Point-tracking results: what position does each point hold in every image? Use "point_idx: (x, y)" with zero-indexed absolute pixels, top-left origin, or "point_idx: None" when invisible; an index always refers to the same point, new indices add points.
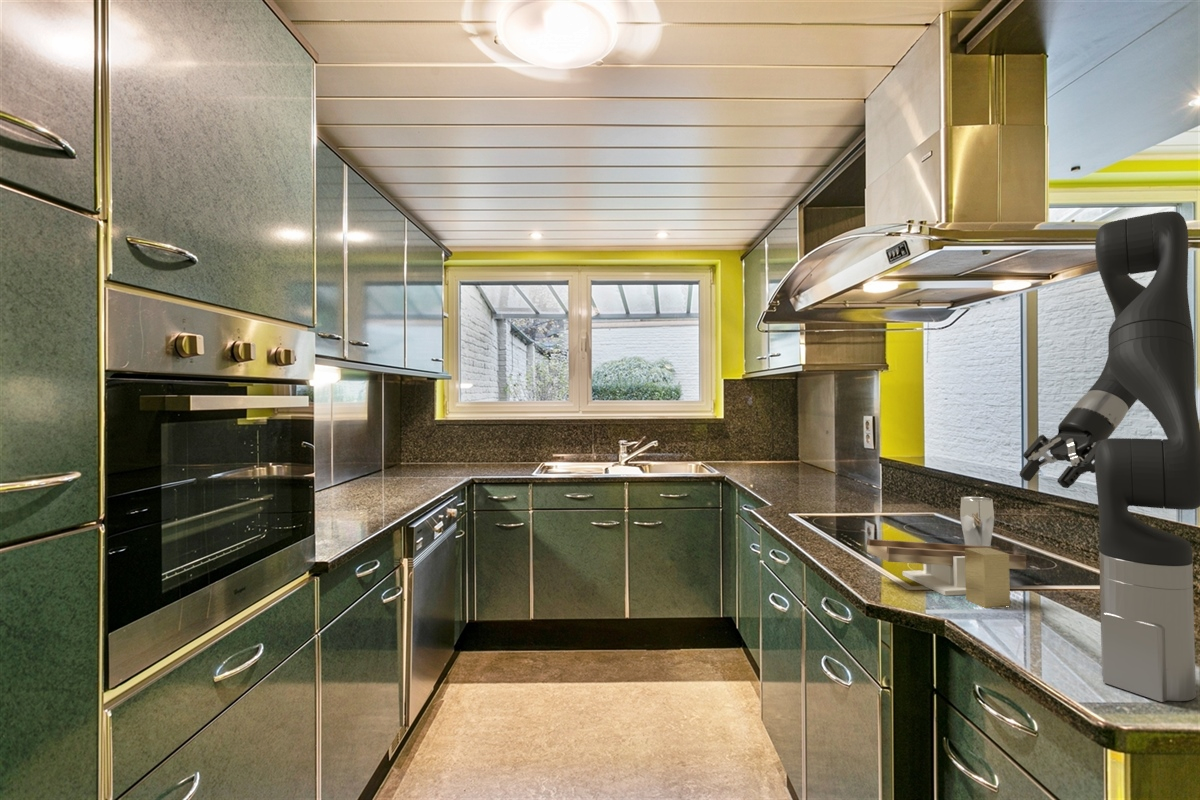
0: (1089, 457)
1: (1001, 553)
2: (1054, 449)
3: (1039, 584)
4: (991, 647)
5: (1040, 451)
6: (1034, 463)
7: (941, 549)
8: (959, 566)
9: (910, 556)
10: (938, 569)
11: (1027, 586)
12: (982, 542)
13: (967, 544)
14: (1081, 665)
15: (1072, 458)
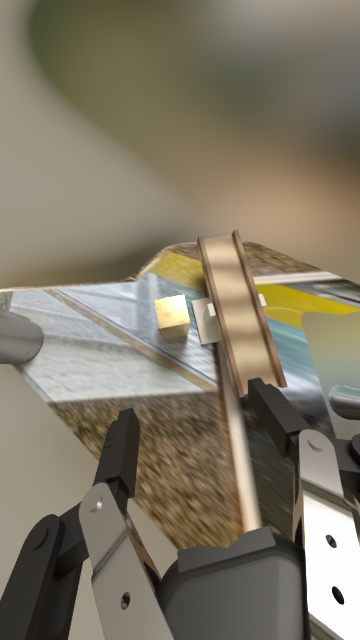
0: (17, 594)
1: (161, 321)
2: (286, 582)
3: (243, 414)
4: (85, 285)
5: (314, 494)
6: (282, 437)
7: (255, 310)
8: (206, 310)
9: (202, 261)
10: None
11: (232, 395)
12: (354, 404)
13: (356, 388)
14: (53, 322)
15: (117, 535)
